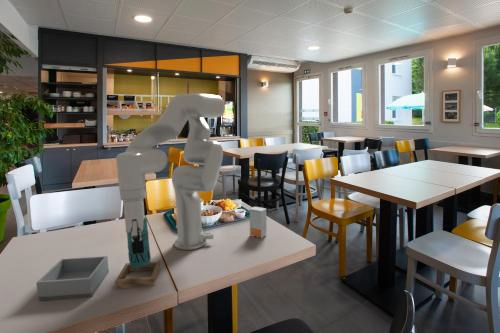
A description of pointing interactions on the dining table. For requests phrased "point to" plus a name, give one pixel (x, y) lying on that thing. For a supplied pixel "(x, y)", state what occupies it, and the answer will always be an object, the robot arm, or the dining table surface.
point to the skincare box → (258, 221)
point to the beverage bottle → (139, 258)
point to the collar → (137, 282)
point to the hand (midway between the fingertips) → (139, 247)
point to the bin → (73, 278)
